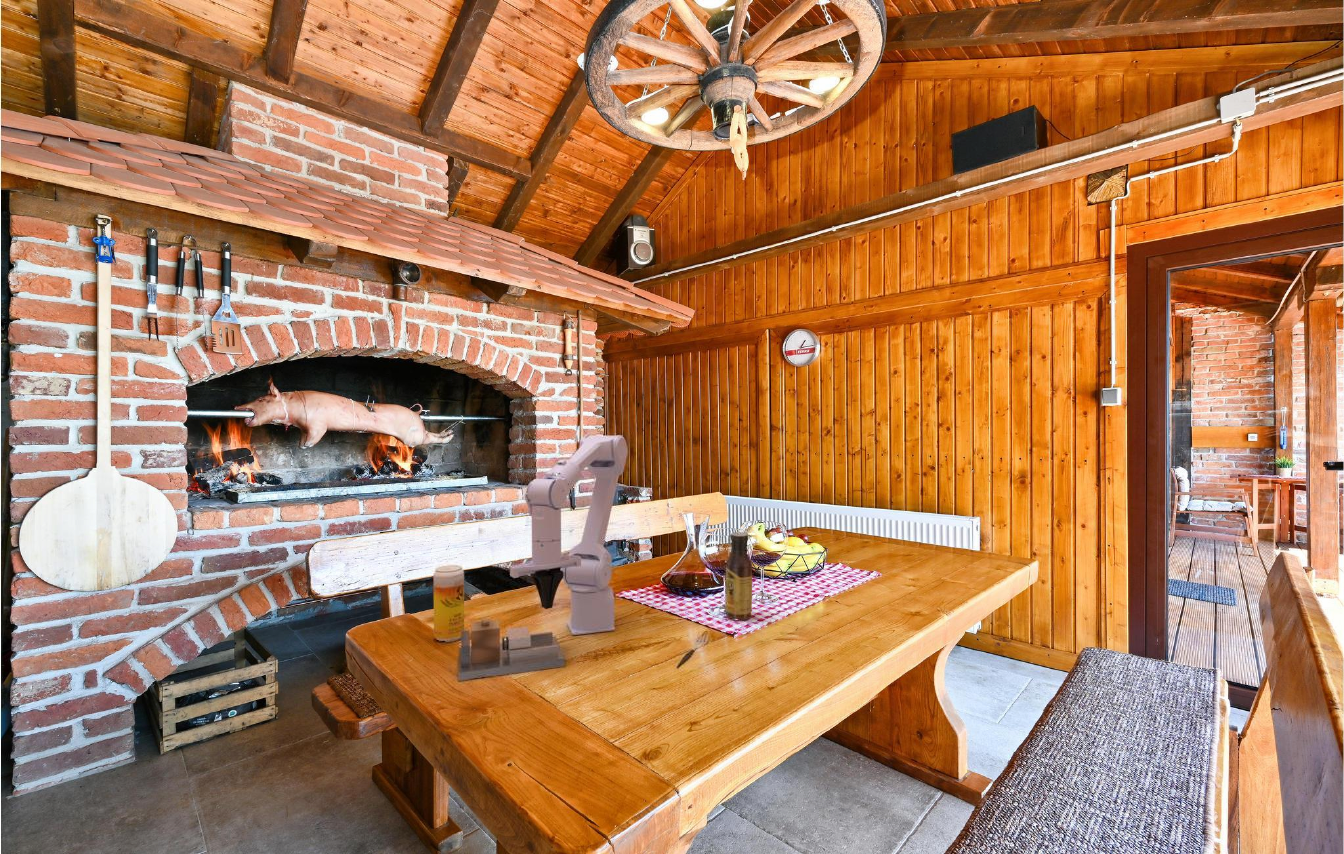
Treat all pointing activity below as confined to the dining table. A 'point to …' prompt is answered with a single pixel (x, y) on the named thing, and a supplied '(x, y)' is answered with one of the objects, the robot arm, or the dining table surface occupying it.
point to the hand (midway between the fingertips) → (547, 607)
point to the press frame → (512, 658)
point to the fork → (692, 650)
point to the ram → (516, 639)
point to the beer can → (448, 603)
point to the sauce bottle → (738, 579)
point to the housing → (485, 640)
